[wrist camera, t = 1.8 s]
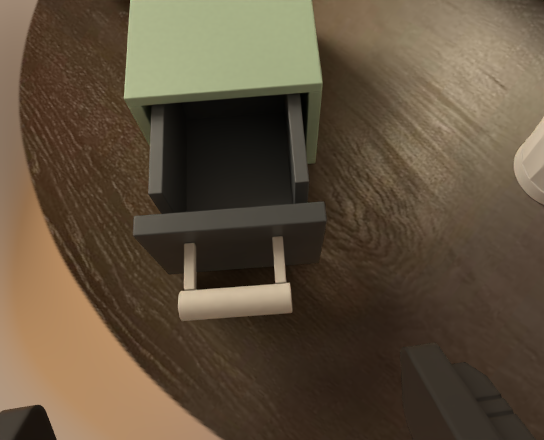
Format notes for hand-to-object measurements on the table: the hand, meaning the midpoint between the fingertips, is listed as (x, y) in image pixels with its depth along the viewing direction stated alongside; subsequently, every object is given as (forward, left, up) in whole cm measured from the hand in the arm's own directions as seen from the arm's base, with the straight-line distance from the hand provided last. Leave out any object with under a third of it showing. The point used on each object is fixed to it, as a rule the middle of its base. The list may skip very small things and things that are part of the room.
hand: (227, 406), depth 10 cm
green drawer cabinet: (-13, +20, -21) cm, 32 cm away
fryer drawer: (-8, +11, -20) cm, 24 cm away
